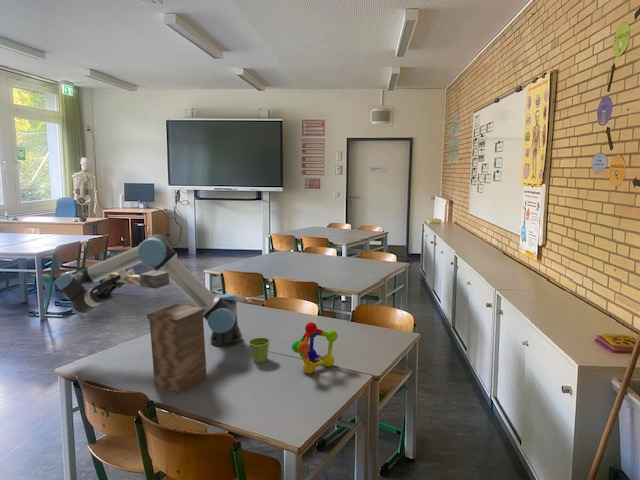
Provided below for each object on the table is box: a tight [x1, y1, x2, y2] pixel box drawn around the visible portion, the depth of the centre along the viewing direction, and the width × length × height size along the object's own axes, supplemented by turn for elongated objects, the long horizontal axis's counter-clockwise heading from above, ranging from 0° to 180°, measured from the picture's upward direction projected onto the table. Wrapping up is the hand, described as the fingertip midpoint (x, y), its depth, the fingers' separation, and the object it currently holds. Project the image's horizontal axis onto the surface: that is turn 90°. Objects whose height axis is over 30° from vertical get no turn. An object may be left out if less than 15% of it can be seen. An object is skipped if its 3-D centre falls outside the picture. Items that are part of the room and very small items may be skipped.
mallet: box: [108, 269, 170, 289], centre depth 185 cm, size 28×7×5 cm, turn 64°
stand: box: [146, 303, 208, 394], centre depth 180 cm, size 15×15×29 cm
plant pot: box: [248, 337, 271, 363], centre depth 201 cm, size 9×9×9 cm
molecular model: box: [291, 321, 338, 375], centre depth 193 cm, size 21×15×20 cm
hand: (129, 272), depth 186 cm, fingers closed on mallet, 3 cm apart
